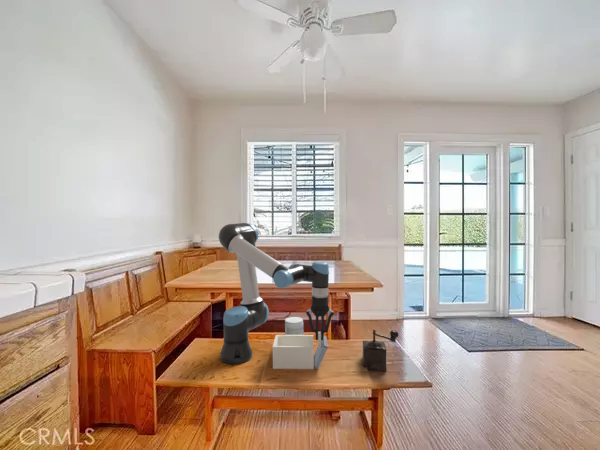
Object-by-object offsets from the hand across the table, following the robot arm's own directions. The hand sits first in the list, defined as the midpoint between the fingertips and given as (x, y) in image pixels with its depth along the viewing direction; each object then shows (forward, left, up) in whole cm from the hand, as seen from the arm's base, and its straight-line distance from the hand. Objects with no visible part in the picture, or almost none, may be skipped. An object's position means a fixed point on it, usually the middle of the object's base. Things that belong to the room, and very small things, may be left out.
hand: (319, 346), depth 153 cm
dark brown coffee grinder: (+25, +12, -9) cm, 29 cm away
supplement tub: (-19, +10, -9) cm, 24 cm away
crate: (-10, -5, -8) cm, 14 cm away
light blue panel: (-1, -1, -7) cm, 7 cm away
